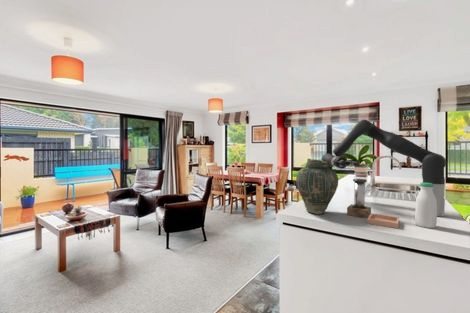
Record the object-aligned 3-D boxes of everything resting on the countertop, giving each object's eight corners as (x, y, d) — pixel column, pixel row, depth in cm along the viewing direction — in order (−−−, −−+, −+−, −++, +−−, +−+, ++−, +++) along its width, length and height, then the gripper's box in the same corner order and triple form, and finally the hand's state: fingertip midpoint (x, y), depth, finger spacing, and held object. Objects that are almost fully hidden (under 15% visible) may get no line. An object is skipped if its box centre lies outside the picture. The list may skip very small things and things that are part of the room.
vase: (289, 213, 129) (290, 158, 128) (302, 205, 147) (303, 157, 147) (333, 220, 117) (334, 160, 116) (341, 211, 135) (342, 158, 134)
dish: (399, 222, 115) (399, 217, 115) (397, 228, 105) (398, 223, 105) (370, 217, 122) (371, 213, 122) (367, 223, 112) (367, 218, 112)
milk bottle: (437, 229, 104) (439, 184, 104) (416, 226, 108) (417, 183, 108) (434, 225, 111) (436, 182, 110) (414, 222, 115) (415, 181, 114)
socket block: (370, 214, 129) (371, 206, 129) (368, 218, 121) (368, 210, 121) (350, 211, 135) (351, 204, 135) (347, 214, 127) (347, 207, 127)
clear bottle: (366, 214, 129) (367, 179, 128) (364, 216, 123) (365, 180, 123) (353, 212, 132) (354, 178, 132) (351, 214, 127) (352, 179, 127)
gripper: (328, 156, 153) (339, 157, 137) (350, 156, 153) (363, 158, 137) (328, 167, 154) (338, 170, 138) (350, 168, 154) (363, 171, 137)
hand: (351, 164), depth 137 cm, fingers open, 8 cm apart
